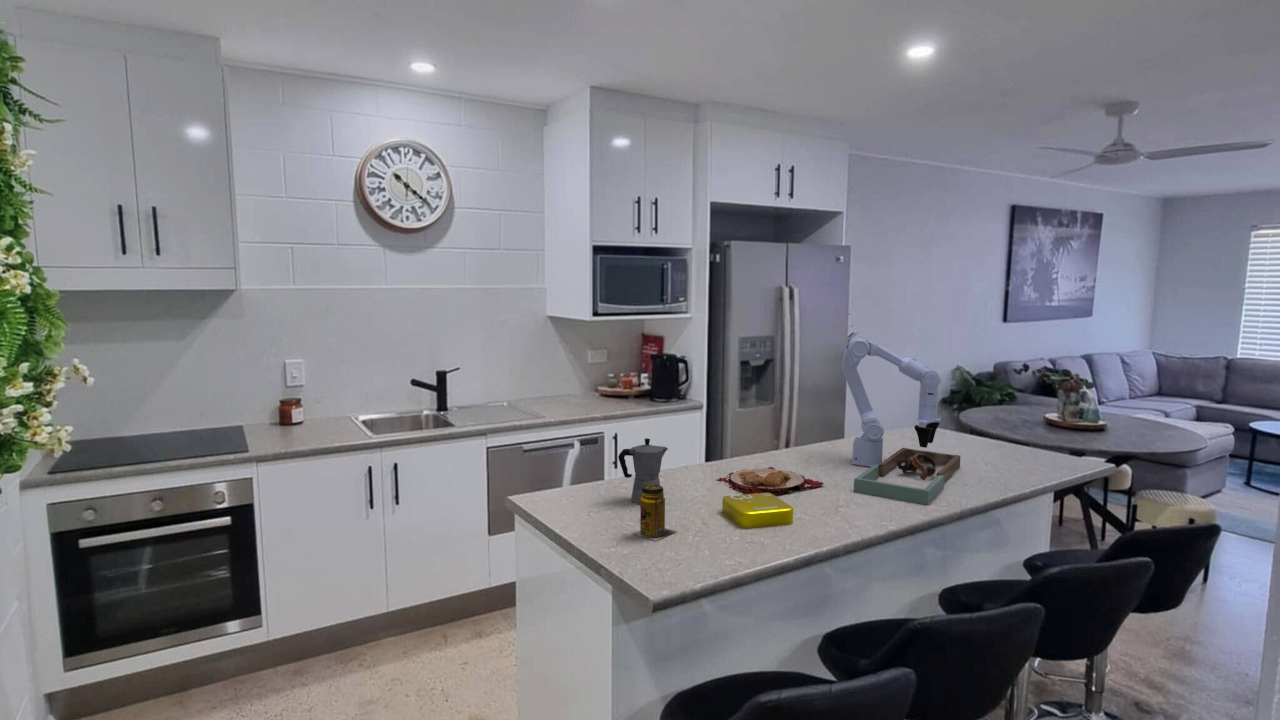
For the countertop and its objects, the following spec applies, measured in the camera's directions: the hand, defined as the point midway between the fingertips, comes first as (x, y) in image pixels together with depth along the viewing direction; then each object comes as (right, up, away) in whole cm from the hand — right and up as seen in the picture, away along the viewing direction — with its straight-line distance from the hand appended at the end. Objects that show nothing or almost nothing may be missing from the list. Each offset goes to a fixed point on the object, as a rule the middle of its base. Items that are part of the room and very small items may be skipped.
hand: (926, 444), depth 232 cm
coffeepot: (-96, -12, -36) cm, 103 cm away
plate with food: (-58, -10, -18) cm, 61 cm away
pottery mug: (-7, -9, -9) cm, 15 cm away
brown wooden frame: (-4, -8, -5) cm, 10 cm away
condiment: (-93, -15, -62) cm, 112 cm away
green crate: (-18, -11, -24) cm, 32 cm away
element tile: (-66, -14, -49) cm, 83 cm away
